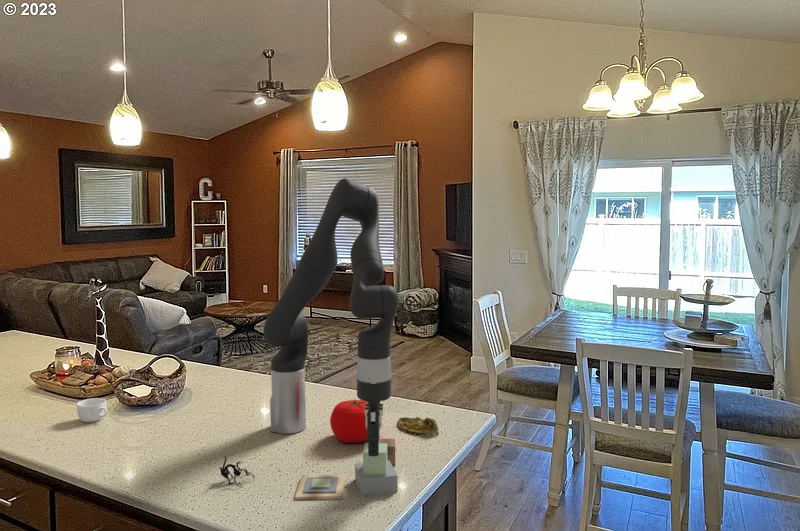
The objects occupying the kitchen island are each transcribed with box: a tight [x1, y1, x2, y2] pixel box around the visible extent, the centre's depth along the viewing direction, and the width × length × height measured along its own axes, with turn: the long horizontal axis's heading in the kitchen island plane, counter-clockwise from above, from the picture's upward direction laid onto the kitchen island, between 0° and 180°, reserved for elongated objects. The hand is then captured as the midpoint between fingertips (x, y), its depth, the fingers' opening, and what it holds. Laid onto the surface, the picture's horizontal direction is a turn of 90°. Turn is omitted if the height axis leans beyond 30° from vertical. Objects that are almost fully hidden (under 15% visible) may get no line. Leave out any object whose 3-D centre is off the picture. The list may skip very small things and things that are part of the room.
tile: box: [294, 474, 346, 500], centre depth 129 cm, size 10×10×1 cm
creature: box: [218, 455, 255, 488], centre depth 133 cm, size 8×5×8 cm
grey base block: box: [354, 460, 398, 497], centre depth 131 cm, size 8×8×4 cm
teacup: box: [76, 397, 108, 423], centre depth 172 cm, size 10×8×5 cm
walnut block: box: [379, 438, 396, 467], centre depth 142 cm, size 5×5×5 cm
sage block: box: [362, 442, 387, 475], centre depth 130 cm, size 5×5×5 cm
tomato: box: [329, 398, 369, 444], centre depth 157 cm, size 14×13×10 cm
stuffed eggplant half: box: [396, 416, 440, 437], centre depth 165 cm, size 9×5×15 cm
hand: (374, 447), depth 130 cm, fingers open, 8 cm apart
